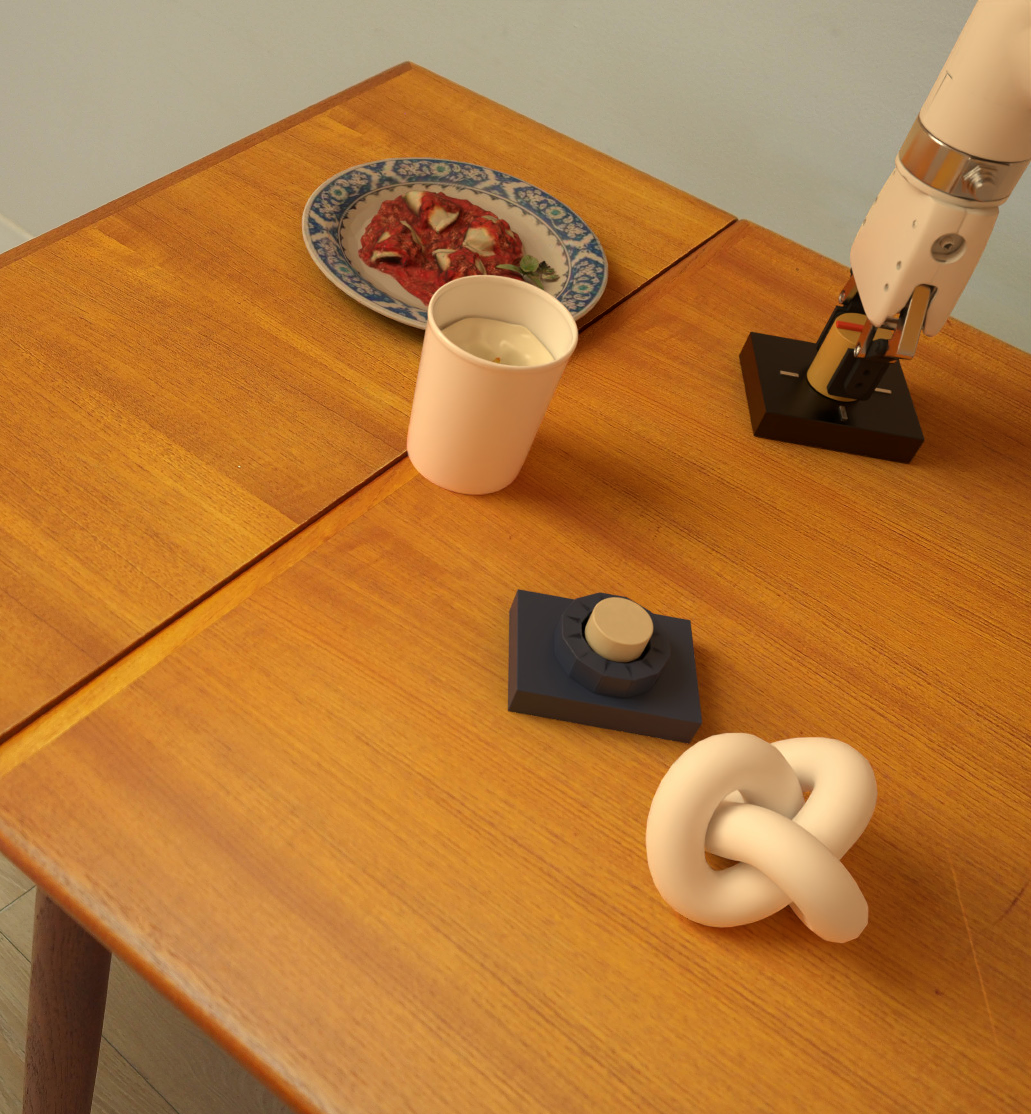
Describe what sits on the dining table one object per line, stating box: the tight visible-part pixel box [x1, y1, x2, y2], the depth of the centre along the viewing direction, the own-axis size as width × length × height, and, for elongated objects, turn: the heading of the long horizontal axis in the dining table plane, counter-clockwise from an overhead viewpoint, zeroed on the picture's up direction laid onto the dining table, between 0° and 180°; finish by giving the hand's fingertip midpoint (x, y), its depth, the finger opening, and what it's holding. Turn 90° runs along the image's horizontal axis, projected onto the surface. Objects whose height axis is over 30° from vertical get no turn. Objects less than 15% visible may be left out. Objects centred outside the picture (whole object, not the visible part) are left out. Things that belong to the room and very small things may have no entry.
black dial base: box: [738, 331, 926, 465], centre depth 98 cm, size 12×10×3 cm
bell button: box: [585, 597, 653, 662], centre depth 74 cm, size 4×4×2 cm
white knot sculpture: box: [645, 732, 878, 944], centre depth 66 cm, size 11×12×9 cm
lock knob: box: [807, 313, 893, 402], centre depth 95 cm, size 4×4×5 cm
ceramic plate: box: [301, 156, 609, 331], centre depth 105 cm, size 26×26×3 cm
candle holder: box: [406, 275, 579, 496], centre depth 86 cm, size 10×10×12 cm
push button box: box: [507, 588, 703, 745], centre depth 76 cm, size 11×8×4 cm
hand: (841, 371), depth 96 cm, fingers closed on lock knob, 4 cm apart
